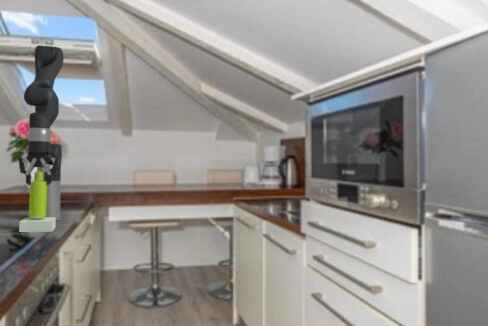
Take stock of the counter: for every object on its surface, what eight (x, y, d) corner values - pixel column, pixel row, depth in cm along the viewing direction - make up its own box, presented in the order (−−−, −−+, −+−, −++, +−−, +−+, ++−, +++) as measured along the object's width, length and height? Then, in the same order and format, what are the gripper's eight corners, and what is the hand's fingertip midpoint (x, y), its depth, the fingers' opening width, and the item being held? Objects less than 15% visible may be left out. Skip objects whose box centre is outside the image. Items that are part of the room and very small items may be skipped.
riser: (24, 228, 157) (25, 217, 157) (55, 227, 160) (55, 217, 160) (19, 232, 147) (19, 221, 147) (51, 231, 151) (52, 220, 151)
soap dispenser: (43, 218, 151) (46, 164, 151) (25, 217, 151) (28, 163, 151) (51, 216, 157) (54, 164, 157) (33, 215, 157) (36, 163, 157)
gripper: (61, 141, 159) (60, 184, 159) (20, 140, 155) (19, 184, 155) (59, 140, 152) (58, 185, 152) (15, 139, 148) (15, 185, 148)
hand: (38, 184), depth 154 cm, fingers closed on soap dispenser, 6 cm apart
